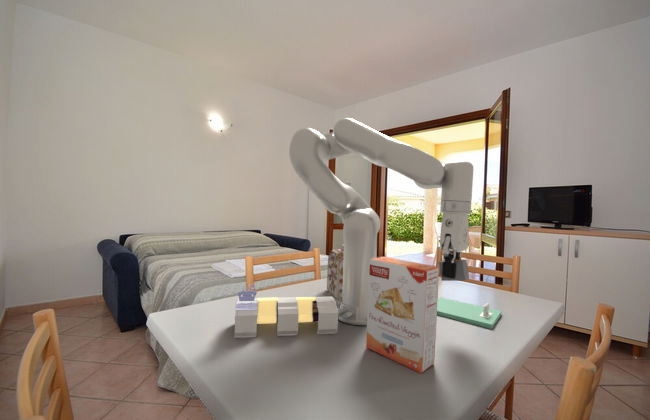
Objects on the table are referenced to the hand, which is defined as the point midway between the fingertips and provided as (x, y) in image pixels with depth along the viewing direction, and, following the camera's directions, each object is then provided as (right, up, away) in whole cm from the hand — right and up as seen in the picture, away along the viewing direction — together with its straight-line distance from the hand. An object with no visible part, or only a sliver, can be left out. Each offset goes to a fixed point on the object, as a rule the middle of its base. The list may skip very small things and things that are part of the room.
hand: (451, 275), depth 81 cm
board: (+10, -15, +14) cm, 23 cm away
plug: (+1, -1, -1) cm, 1 cm away
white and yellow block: (-44, -14, -3) cm, 46 cm away
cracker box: (-18, -15, -15) cm, 28 cm away
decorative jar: (-26, -13, +30) cm, 42 cm away
